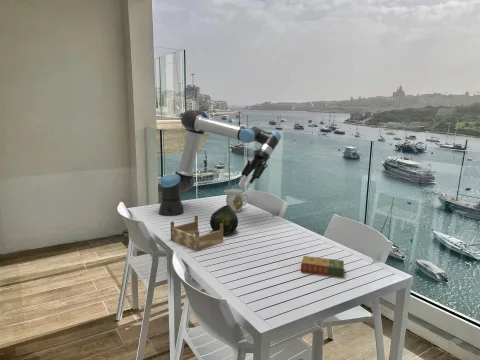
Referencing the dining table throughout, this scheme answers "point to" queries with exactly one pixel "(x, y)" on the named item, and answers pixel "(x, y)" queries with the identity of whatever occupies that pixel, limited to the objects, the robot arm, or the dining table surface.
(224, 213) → the squash
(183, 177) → the robot arm
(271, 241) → the dining table surface
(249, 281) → the dining table surface
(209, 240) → the rack
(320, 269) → the carton
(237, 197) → the pitcher
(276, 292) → the dining table surface
